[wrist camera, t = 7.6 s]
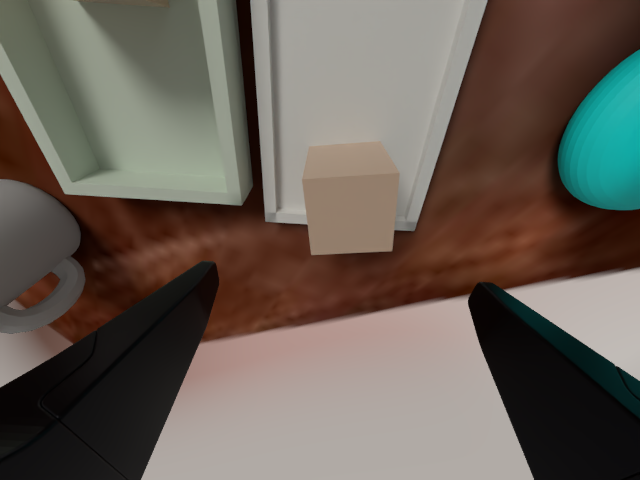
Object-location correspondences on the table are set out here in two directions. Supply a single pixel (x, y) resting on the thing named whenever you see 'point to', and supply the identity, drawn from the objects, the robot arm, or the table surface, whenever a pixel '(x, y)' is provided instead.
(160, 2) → the tan rectangular block
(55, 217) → the cup
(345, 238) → the tan rectangular block
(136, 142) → the bin
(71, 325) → the table surface
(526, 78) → the table surface
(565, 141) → the donuts
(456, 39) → the tray
